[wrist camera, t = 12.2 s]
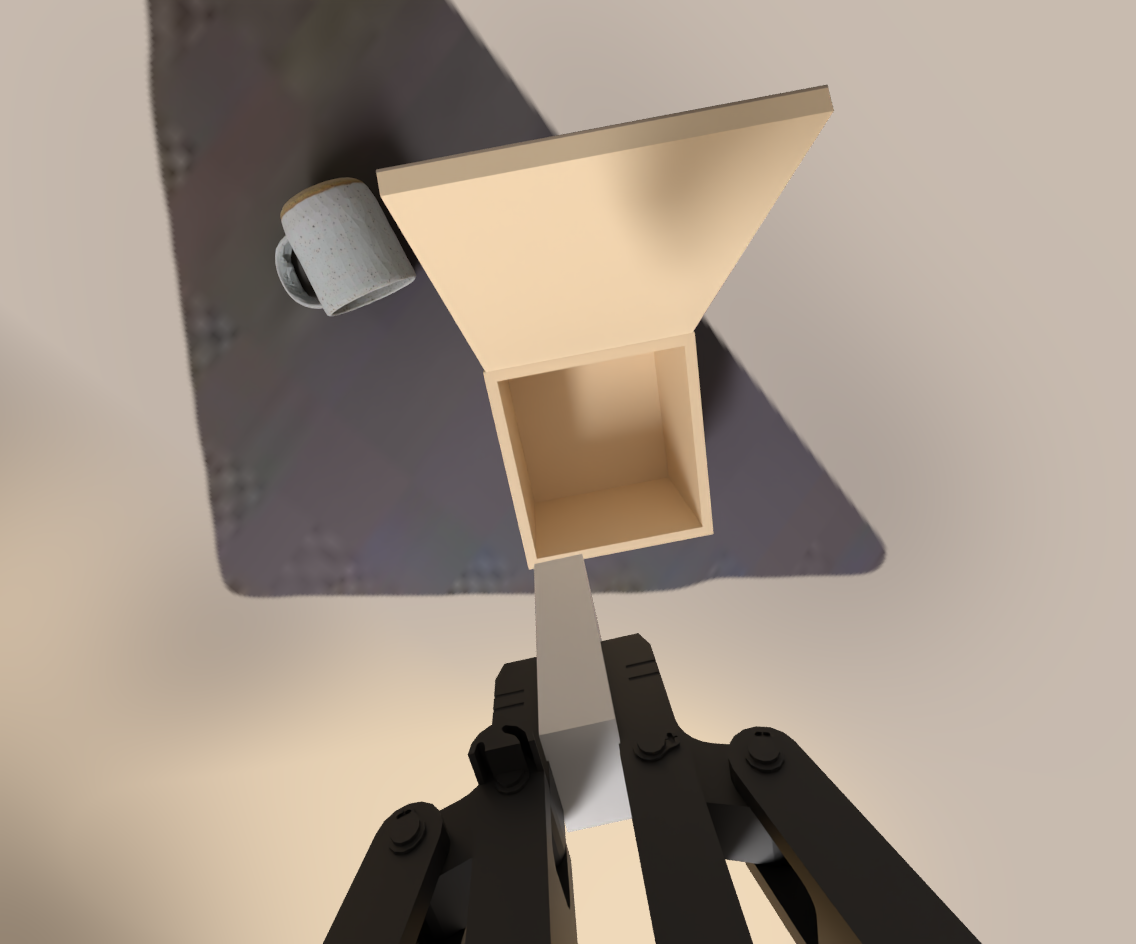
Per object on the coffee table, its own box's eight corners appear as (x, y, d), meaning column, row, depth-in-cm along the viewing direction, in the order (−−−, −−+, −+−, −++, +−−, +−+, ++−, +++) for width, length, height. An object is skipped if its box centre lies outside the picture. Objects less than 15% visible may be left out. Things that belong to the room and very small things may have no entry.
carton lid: (485, 372, 38) (483, 359, 38) (692, 332, 38) (689, 320, 39) (380, 196, 17) (376, 169, 18) (833, 110, 18) (827, 84, 18)
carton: (492, 348, 50) (483, 372, 38) (656, 317, 50) (694, 332, 39) (528, 508, 55) (529, 569, 44) (675, 480, 55) (713, 533, 44)
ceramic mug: (374, 178, 44) (343, 162, 37) (426, 276, 47) (406, 279, 40) (262, 238, 45) (210, 233, 38) (319, 330, 48) (280, 342, 41)
